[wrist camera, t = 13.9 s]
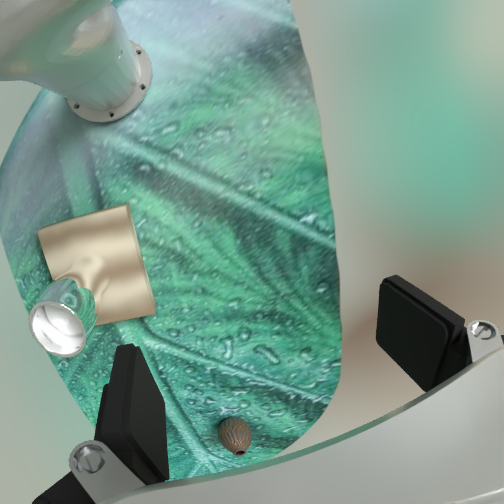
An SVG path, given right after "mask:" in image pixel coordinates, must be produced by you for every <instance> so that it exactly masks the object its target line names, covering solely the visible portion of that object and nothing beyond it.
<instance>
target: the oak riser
mask: <svg viewBox="0 0 504 504" xmlns="http://www.w3.org/2000/svg"><path fill="white" fill-rule="evenodd" d="M37 233H38V236H39V240H40V243H41V246H42V249H43V253H44V256H45V259H46V262H47V265H48V268H49V270H50V273H51V276H52V279H53V280H54V279H56V278H57V277H58V276H60V275H62V274H63V273H65V272H67V271H68V270H70V269H71V265H72V263H73V261H74V259H75V258H76V257H77V256H78V255H80V254H82V253H88V252H89V253H95V254H97V255H99V256H101V257H102V258H103V259H104V260H105V261H106V263H107V264H108V266H109V269H110V282H109V284H108V286H107V287H106V289H105V290H104V291H103V292H102V293H101V298H100V308H99V313H98V318H97V321H96V324H95V326H96V325H101V324H107V323H112V322H117V321H122V320H127V319H132V318H137V317H142V316H147V315H152V314H155V313H156V301H155V298H154V295H153V292H152V289H151V285H150V282H149V279H148V275H147V272H146V268H145V265H144V261H143V258H142V254H141V250H140V247H139V243H138V239H137V235H136V231H135V227H134V223H133V219H132V215H131V211H130V206H129V203H125V204H121V205H117V206H113V207H110V208H106V209H102V210H98V211H95V212H91V213H88V214H84V215H81V216H77V217H74V218H70V219H67V220H63V221H60V222H57V223H54V224H50V225H47V226H45V227H43V228H41V229H40V230H38V231H37Z"/></svg>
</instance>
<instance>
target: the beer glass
mask: <svg viewBox="0 0 504 504" xmlns="http://www.w3.org/2000/svg"><path fill="white" fill-rule="evenodd" d="M109 282H110V269H109V266H108V264H107V263H106V261H105V260H104V259H103V258H102V257H101V256H99V255H97V254H95V253H89V252H88V253H82V254H80V255H78V256H77V257H76V258H75V259H74V261H73V263H72V265H71V269H70V270H68V271H67V272H65V273H63V274H62V275H60V276H58V277H57V278H56V279H54V280H53V281H52V282H51V283H50V284H49V285H48V286H47V287H46V288H45V290H44V291H43V292H42V294H41V295H40V297H39V298H38V300H37V302H36V303H35V305H34V307H33V308H32V310H31V311H30V314H29V327H30V330H31V333H32V335H33V337H34V339H35V340H36V341H37V343H38V344H39V345H40V346H41V347H42V348H43V349H45V350H46V351H47V352H49V353H51V354H53V355H55V356H59V357H73V356H76V355H78V354H79V353H80V352H81V351H82V350H83V349H84V347H85V344H86V342H87V340H88V339H89V337H90V335H91V333H92V331H93V328H94V326H95V324H96V321H97V318H98V313H99V308H100V298H101V293H102V292H103V291H104V290H105V289H106V287H107V286H108V284H109Z"/></svg>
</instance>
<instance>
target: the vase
mask: <svg viewBox="0 0 504 504" xmlns="http://www.w3.org/2000/svg"><path fill="white" fill-rule="evenodd" d="M218 437H219V440H220V443H221V444H222V445H223V447H224V448H226V449H227V450H229V451H230V452H232V453H233V454H234V455H235V456H242V455H244V454H246V451H247V448H248V447H249V445H250V443H251V441H252V432H251V429H250V427H249V425H248V424H247V422H246V421H244V420H243V419H241V418H238V417H229V418H226V419H225V420H223V421H222V422H221V424H220V425H219V428H218Z"/></svg>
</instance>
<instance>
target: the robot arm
mask: <svg viewBox="0 0 504 504" xmlns="http://www.w3.org/2000/svg"><path fill="white" fill-rule="evenodd" d="M110 1H112V0H0V81H17V80H22V81H28V82H31V83H34V84H37V85H39V86H42V87H44V88H46V89H48V90H50V91H52V92H55V93H57V94H59V95H61V96H63V97H65V98H67V101H68V103H69V106H70V107H71V109H72V110H73V111H74V112H75V113H76V114H77V115H78V116H79V117H81V118H83V119H85V120H88V121H91V122H97V123H103V122H110V121H115V120H117V119H120V118H122V117H124V116H126V115H127V114H129V113H130V112H132V111H133V110H134V109H135V108H136V107H137V106H138V105H139V104H140V103H141V102H142V101H143V99H144V98H145V96H146V94H147V93H148V90H149V88H150V85H151V81H152V65H151V61H150V59H149V56H148V54H147V53H146V51H145V50H144V49H143V48H142V47H141V46H140V45H139V44H137V43H135V42H134V41H131V40H129V38H128V36H127V33H126V31H125V29H124V26H123V24H122V21H121V19H120V17H119V14H118V12H117V11H116V9H115V8H114V6H113V5H112V4H111V3H110ZM138 53H141V54H139V55H138ZM142 87H145V89H144V90H142ZM78 105H79V108H78V109H77V106H78ZM111 114H114V116H113V117H111ZM464 323H465V319H464V318H462V317H461V316H459V315H458V314H456V313H455V312H453V311H452V310H450V309H448V308H447V307H446V306H444V305H443V304H441V303H440V302H438V301H437V300H435V299H434V298H432V297H431V296H429V295H428V294H426V293H424V292H423V291H422V290H420V289H419V288H417V287H415V286H414V285H412V284H411V283H409V282H408V281H406V280H404V279H403V278H401V277H399V276H398V275H393V276H390V277H387V278H385V279H384V280H383V281H382V283H381V284H380V290H379V306H378V318H377V330H376V341H377V343H378V345H379V346H380V347H381V348H382V349H383V350H384V351H385V352H386V353H387V354H388V355H389V356H390V357H391V358H392V359H393V360H394V361H395V362H396V363H397V364H398V365H399V366H400V367H401V368H402V369H403V370H404V371H405V372H406V373H407V374H408V375H409V376H410V377H411V378H412V379H413V380H414V381H415V382H416V383H417V384H418V385H419V387H421V389H422V390H423V391H425V392H426V393H425V394H423V395H421V396H420V397H418V398H416V399H414V400H413V401H410V402H409V403H407V404H405V405H403V406H402V407H399V408H397V409H396V410H394V411H392V412H390V413H388V414H386V415H384V416H382V417H380V418H378V419H376V420H373V421H371V422H369V423H367V424H365V425H363V426H361V427H358V428H356V429H354V430H352V431H349V432H347V433H344V434H342V435H340V436H337V437H335V438H332V439H330V440H327V441H325V442H322V443H319V444H316V445H313V446H311V447H308V448H305V449H302V450H299V451H296V452H294V453H290V454H287V455H284V456H281V457H277V458H274V459H270V460H267V461H263V462H260V463H256V464H252V465H248V466H244V467H240V468H235V469H231V470H227V471H222V472H217V473H213V474H208V475H202V476H197V477H191V478H185V479H179V480H174V481H168V482H165V480H169V465H168V452H167V436H166V415H165V402H164V399H163V397H162V395H161V393H160V390H159V388H158V386H157V384H156V382H155V380H154V378H153V376H152V374H151V371H150V369H149V367H148V365H147V363H146V360H145V358H144V356H143V353H142V351H141V349H140V347H139V346H137V347H135V346H134V344H132V343H131V344H125V345H120V346H117V349H116V353H115V358H114V362H113V367H112V371H111V376H110V381H109V384H105V385H104V388H103V392H102V397H101V402H100V407H99V413H98V418H97V424H96V430H95V436H94V440H93V441H92V440H89V441H85V442H83V443H81V444H79V445H78V446H76V447H75V448H74V449H73V451H72V452H71V454H70V457H69V466H70V469H71V471H70V472H69V473H68V474H67V475H65V476H64V477H63V478H62V479H60V480H59V481H58V482H56V483H55V484H54V485H53V486H51V487H50V488H49V489H48V490H46V491H45V492H44V493H43V494H41V495H40V496H38V497H37V498H36V499H35V500H34V501H33V502H32V504H504V335H500V332H499V330H498V328H497V327H496V326H495V325H494V324H493V323H491V322H489V321H486V320H474V321H471V322H470V323H469V324H468V326H467V328H466V327H464Z"/></svg>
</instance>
